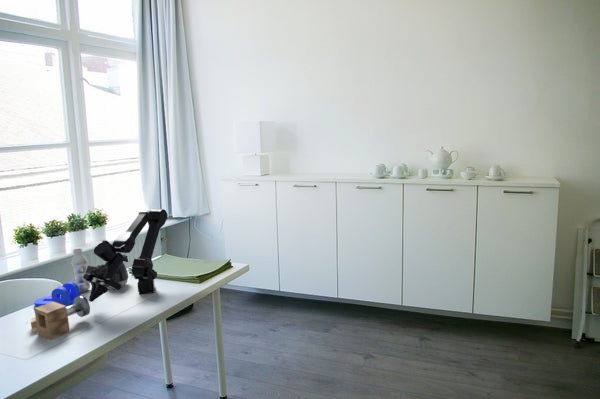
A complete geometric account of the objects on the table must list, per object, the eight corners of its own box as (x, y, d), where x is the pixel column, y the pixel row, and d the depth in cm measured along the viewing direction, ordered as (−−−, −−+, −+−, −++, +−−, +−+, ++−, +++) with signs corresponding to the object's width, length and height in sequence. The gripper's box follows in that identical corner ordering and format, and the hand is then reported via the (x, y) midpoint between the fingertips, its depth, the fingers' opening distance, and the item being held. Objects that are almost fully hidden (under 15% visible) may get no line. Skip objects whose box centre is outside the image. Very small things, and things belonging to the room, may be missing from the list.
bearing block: (57, 326, 172) (53, 301, 170) (69, 331, 167) (66, 306, 165) (38, 333, 166) (34, 308, 165) (50, 339, 161) (46, 313, 160)
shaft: (79, 312, 179) (77, 293, 177) (91, 316, 174) (88, 297, 173) (49, 324, 169) (46, 304, 168) (60, 329, 164) (57, 308, 163)
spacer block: (44, 325, 173) (42, 315, 173) (44, 329, 170) (42, 319, 169) (32, 328, 172) (30, 318, 171) (32, 332, 168) (30, 322, 167)
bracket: (80, 301, 197) (77, 281, 196) (67, 309, 189) (65, 288, 187) (44, 300, 200) (41, 281, 199) (30, 308, 192) (27, 287, 191)
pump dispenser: (133, 285, 213) (129, 254, 211) (112, 291, 206) (108, 259, 204) (123, 280, 220) (120, 250, 218) (102, 287, 213) (98, 256, 210)
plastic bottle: (78, 289, 212) (72, 248, 208) (93, 288, 212) (87, 247, 209) (72, 294, 205) (66, 252, 202) (88, 293, 206) (82, 251, 202)
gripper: (84, 253, 184) (61, 288, 177) (111, 259, 174) (87, 296, 167) (104, 266, 192) (82, 300, 185) (131, 273, 182) (109, 308, 175)
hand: (90, 301), depth 178 cm, fingers closed
